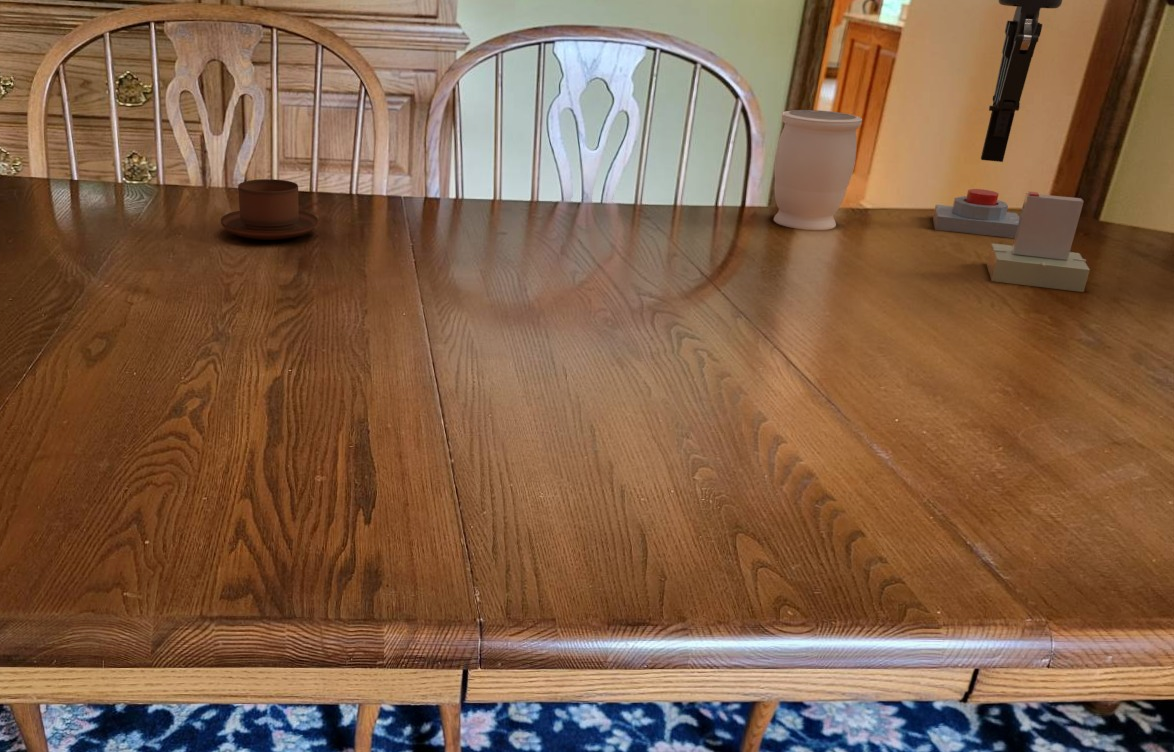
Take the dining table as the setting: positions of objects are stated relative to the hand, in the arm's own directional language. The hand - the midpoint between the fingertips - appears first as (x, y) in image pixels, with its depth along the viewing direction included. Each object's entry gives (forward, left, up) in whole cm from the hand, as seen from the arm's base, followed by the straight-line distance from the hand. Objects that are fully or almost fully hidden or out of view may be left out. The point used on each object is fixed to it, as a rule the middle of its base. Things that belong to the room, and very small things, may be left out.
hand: (991, 159), depth 151 cm
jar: (+23, +8, -10) cm, 26 cm away
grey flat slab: (-5, +24, -7) cm, 26 cm away
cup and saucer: (+86, +47, -10) cm, 99 cm away
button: (0, -1, -6) cm, 6 cm away
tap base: (-5, +24, -10) cm, 27 cm away
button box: (0, -1, -10) cm, 10 cm away
